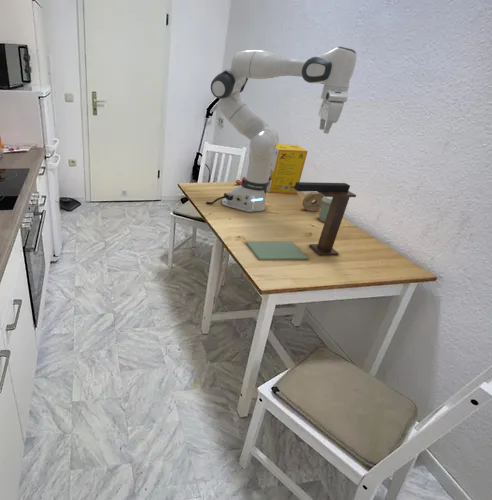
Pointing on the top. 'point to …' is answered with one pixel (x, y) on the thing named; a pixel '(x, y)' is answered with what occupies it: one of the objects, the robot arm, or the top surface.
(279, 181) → the packaging box
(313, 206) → the stone disc
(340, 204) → the shelf stand
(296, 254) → the base pad
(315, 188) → the black bar
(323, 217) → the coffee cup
